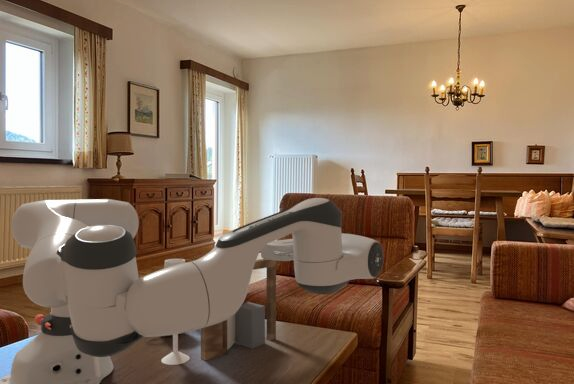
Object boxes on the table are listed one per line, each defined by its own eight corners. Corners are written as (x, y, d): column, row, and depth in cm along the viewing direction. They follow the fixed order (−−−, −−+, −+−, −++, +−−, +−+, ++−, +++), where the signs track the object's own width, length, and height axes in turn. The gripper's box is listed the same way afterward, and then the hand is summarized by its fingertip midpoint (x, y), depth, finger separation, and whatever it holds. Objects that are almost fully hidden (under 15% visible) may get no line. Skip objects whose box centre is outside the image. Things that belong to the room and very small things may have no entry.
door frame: (202, 361, 111) (202, 269, 110) (198, 358, 112) (198, 268, 112) (276, 339, 126) (276, 258, 126) (271, 337, 128) (271, 257, 127)
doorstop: (251, 348, 119) (251, 310, 119) (235, 343, 123) (235, 305, 123) (264, 343, 123) (264, 305, 123) (248, 338, 127) (248, 302, 127)
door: (232, 350, 117) (232, 279, 116) (222, 349, 117) (222, 278, 117) (245, 334, 128) (245, 270, 128) (236, 334, 129) (236, 269, 128)
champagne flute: (180, 351, 117) (180, 257, 116) (194, 359, 112) (194, 260, 111) (156, 358, 112) (155, 260, 112) (169, 367, 108) (169, 264, 107)
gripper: (284, 270, 96) (244, 261, 107) (349, 259, 110) (308, 252, 120) (284, 240, 96) (244, 234, 106) (349, 232, 110) (308, 228, 120)
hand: (279, 243), depth 113 cm, fingers open, 6 cm apart
